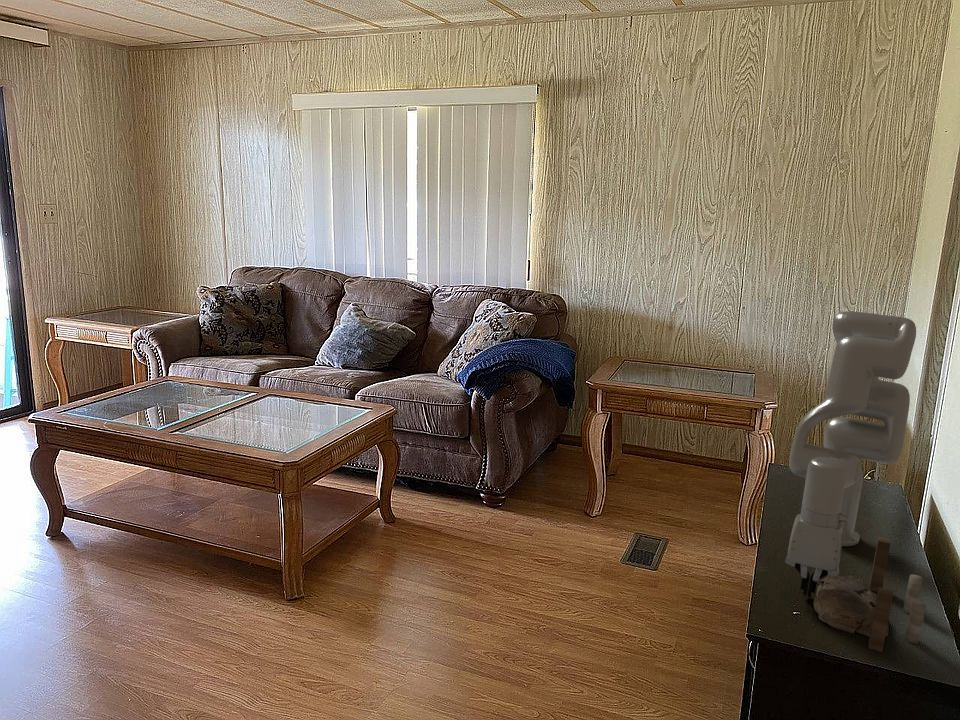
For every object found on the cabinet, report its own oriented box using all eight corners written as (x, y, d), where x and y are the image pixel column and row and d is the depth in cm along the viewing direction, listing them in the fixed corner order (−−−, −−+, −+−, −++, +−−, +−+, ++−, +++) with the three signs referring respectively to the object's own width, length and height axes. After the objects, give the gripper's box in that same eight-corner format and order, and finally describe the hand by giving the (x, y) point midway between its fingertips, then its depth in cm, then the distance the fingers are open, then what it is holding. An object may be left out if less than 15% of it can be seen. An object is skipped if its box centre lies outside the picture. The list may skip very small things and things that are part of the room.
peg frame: (869, 585, 169) (878, 536, 167) (914, 596, 166) (924, 546, 163) (868, 648, 146) (878, 592, 143) (920, 662, 142) (932, 606, 139)
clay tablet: (813, 580, 171) (810, 623, 153) (817, 561, 170) (814, 602, 152) (882, 598, 165) (887, 645, 148) (886, 578, 164) (892, 623, 147)
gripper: (859, 517, 158) (845, 595, 162) (784, 501, 165) (773, 576, 169) (858, 531, 152) (844, 612, 156) (780, 513, 158) (768, 591, 163)
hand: (807, 593), depth 163 cm, fingers closed
